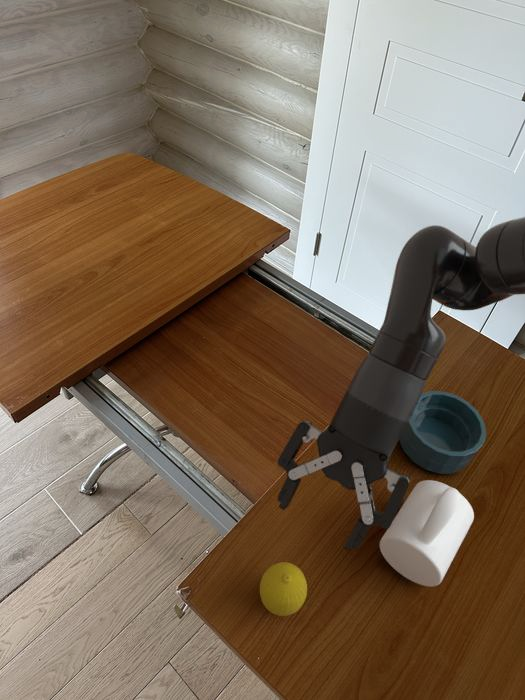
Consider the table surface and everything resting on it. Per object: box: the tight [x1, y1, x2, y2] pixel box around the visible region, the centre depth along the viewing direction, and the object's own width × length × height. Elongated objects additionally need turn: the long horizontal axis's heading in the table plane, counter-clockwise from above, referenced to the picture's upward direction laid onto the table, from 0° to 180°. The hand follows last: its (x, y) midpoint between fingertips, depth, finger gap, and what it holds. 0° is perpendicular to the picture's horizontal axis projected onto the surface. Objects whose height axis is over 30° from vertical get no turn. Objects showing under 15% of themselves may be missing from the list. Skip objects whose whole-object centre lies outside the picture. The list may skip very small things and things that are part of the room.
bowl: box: [398, 390, 487, 475], centre depth 78 cm, size 11×12×6 cm
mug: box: [379, 479, 475, 588], centre depth 65 cm, size 8×10×12 cm
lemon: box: [259, 561, 308, 617], centre depth 61 cm, size 6×6×8 cm
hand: (314, 527), depth 59 cm, fingers open, 8 cm apart
